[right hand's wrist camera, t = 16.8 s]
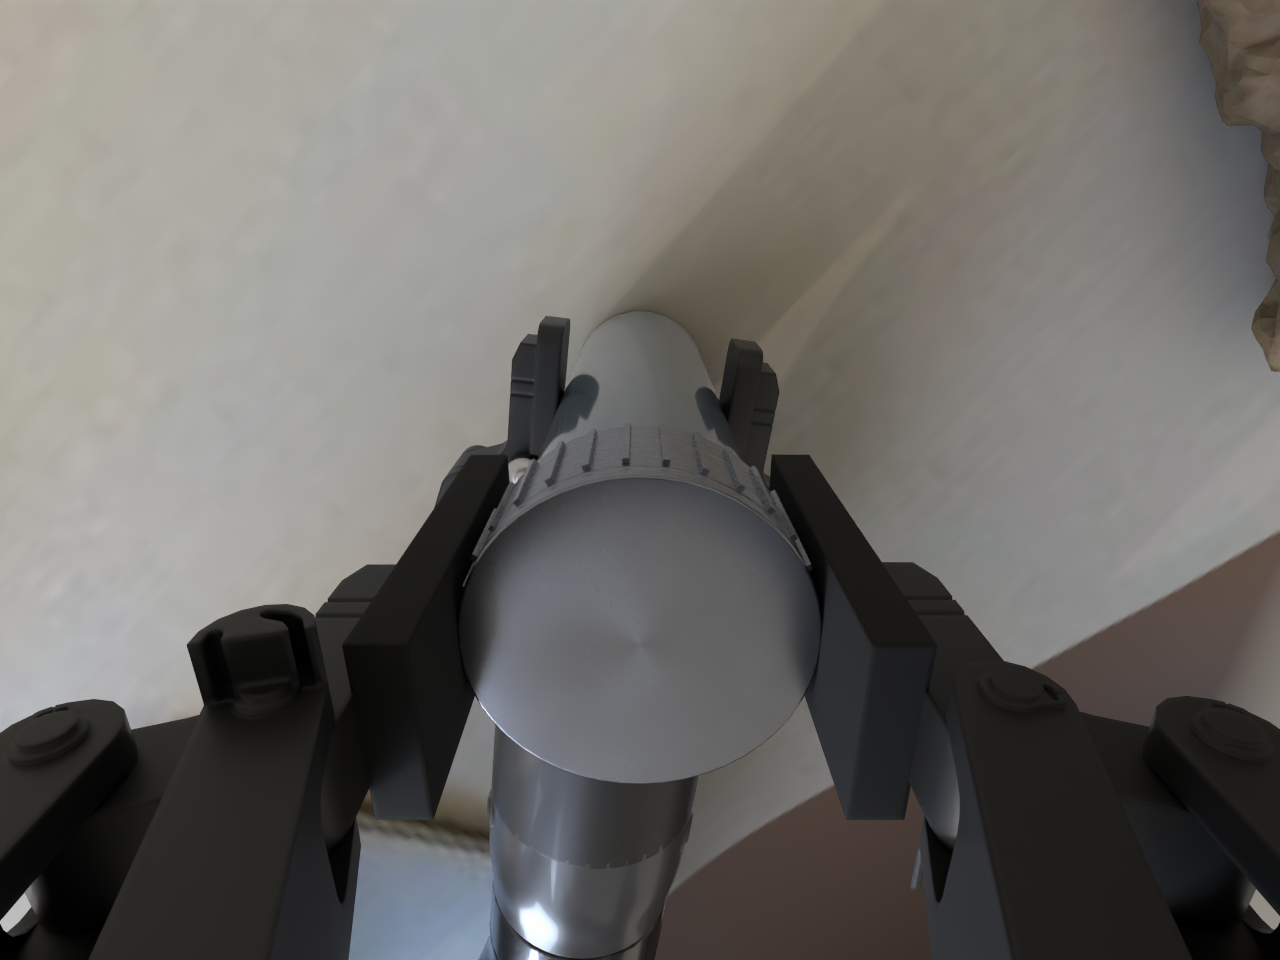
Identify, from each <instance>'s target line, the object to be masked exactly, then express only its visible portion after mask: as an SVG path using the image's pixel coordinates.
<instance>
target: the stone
mask: <svg viewBox="0 0 1280 960" xmlns="http://www.w3.org/2000/svg"><path fill="white" fill-rule="evenodd" d="M1196 1H1197V4H1198V6H1199V9H1200V17H1201V28H1202V31H1201V37H1200V43H1201V45H1202V47H1203V48H1204V50H1205V52H1206V53H1207V55H1208V57H1209V59H1210V62H1211V66H1212V69H1213V73H1214V76H1215V80H1216V83H1217V84H1216V93H1215V97H1216V102H1217V107H1218V109H1219V112H1220V115H1221V117H1222V120H1223V122H1225V123H1226V124H1227V125H1228V126H1240V125H1254V126H1256V127H1257V128H1258V129H1259V130H1261V131H1262V144H1261V152H1262V153H1263V155H1264V157H1265V159H1266V161H1267V162H1268V163H1269V166H1268V171H1267V177H1266V182H1265V187H1264V198H1265V201H1266V204H1267V207H1268V208H1269V209H1270V210H1271V211H1272V212H1273V213H1274V214H1275V219H1274V222H1273V224H1272V227H1271V229H1270V231H1269V234H1268V236H1269V240H1270V242H1269V248H1268V255H1267V261H1266V262H1267V263H1268V265H1269V266H1270V268H1271V270H1272V271H1273V273H1274V275H1275V276H1276V278H1277V279H1276V280H1275V282H1274V284H1273V286H1272V288H1271V290H1270V291H1269V293H1268V295H1267V296H1266V298H1265V299H1264V301H1263V302H1262V303H1261V305H1260V306H1259V307H1258V309H1257V310H1256V312H1255V315H1254V319H1253V323H1252V328H1251V329H1252V331H1253V334H1254V336H1255V338H1256V340H1257V341H1258V343H1259V344H1260V346H1261V347H1262V349H1263V351H1264V354H1265V358H1266V360H1267V362H1268V364H1269V367H1270V369H1271V371H1274V372H1279V371H1280V0H1196Z"/></svg>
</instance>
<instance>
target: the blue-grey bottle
mask: <svg viewBox="0 0 1280 960" xmlns="http://www.w3.org/2000/svg"><path fill="white" fill-rule="evenodd" d="M624 423H631V426H635V425H639V426H659V427H660V424H666V425H667V428H671V429H677V430H681V431H684V432H688V433H691V434H694V432H695V431H696V432H698V433H701V437H702V438H705V439H707V440H709V441H711V442H713V443H716V444H718V445H720V446H721V447H723V448H725V447H726V446H728V447H730V448H731V449H732V451H733V454H734V455H736V456H737V457H738V458H739V459H740V460H742V461H743V459H742V457H741V454H740V452H739V449H738V447H737V444H736V442H735V439H734V437H733V434H732V432H731V429H730V427H729V424H728V422H727V419H726V417H725V415H724V412H723V410H722V407H721V405H720V402H719V400H718V397H717V395H716V392H715V390H714V387H713V385H712V382H711V380H710V377H709V375H708V372H707V370H706V368H705V365H704V363H703V360H702V358H701V355H700V353H699V350H698V348H697V346H696V344H695V342H694V341H693V339H692V338H691V336H690V335H689V334H688V333H687V332H686V330H685V329H684V328H682V327H681V326H680V325H679V324H678V323H676V322H675V321H673V320H672V319H669V318H667V317H665V316H663V315H660V314H657V313H652V312H646V311H634V312H627V313H623V314H620V315H617V316H614V317H612V318H610V319H608V320H607V321H605V322H604V323H602V324H601V325H600V326H598V327H597V328H596V329H595V330H594V331H593V332H592V334H591V335H590V336H589V337H588V339H587V340H586V342H585V344H584V346H583V348H582V350H581V352H580V355H579V357H578V360H577V362H576V365H575V367H574V370H573V372H572V375H571V377H570V379H569V382H568V384H567V387H566V389H565V392H564V394H563V397H562V399H561V402H560V404H559V407H558V409H557V411H556V414H555V416H554V419H553V421H552V424H551V426H550V429H549V431H548V434H547V436H546V439H545V441H544V443H543V446H542V448H541V451H540V453H539V456H538V458H537V460H539V459H540V458H541V457H543V456H544V455H546V454H547V453H549V452H550V451H552V450H553V449H555V448H556V446H557V443H558V442H560V441H562V440H563V441H564V443H566V442H568V441H570V440H572V439H574V438H577V437H580V436H583V435H586V434H589V430H590V429H594V428H596V431H599V430H604V429H609V428H613V427H623V426H624ZM743 462H744V461H743Z"/></svg>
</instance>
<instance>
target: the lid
mask: <svg viewBox="0 0 1280 960" xmlns="http://www.w3.org/2000/svg"><path fill="white" fill-rule="evenodd" d="M470 560H472V561H474V562H473V564H472V566H471V568H470V570H469V572H468V575H467V577H466V579H465V581H464V583H463V585H462V589H463V593H462V596H461V600H460V604H459V611H458V622H457V631H458V642H459V650H460V657H461V661H462V666H463V669H464V672H465V674H466V677H467V680H468V682H469V685H470V687H471V689H472V691H473V693H474V694H475V696H476V698H477V700H478V702H479V703H480V705H481V706H482V707H483V709H484V710H485V711H486V713H487V714H488V715H489V717H490V718H491V720H492V721H493V722H494V723H495V724H496V725H497V726H498V727H499V728H500V729H501V730H502V731H503V732H504V733H505V734H506V735H507V736H508V737H510V738H511V739H512V740H513V741H515V742H516V743H517V744H518V745H520V746H521V747H522V748H524V749H525V750H527V751H528V752H530V753H532V754H533V755H535V756H536V757H538V758H540V759H542V760H544V761H546V762H548V763H550V764H552V765H554V766H556V767H558V768H561V769H563V770H566V771H569V772H572V773H575V774H577V775H581V776H585V777H589V778H593V779H597V780H603V781H610V782H617V783H634V784H648V783H663V782H670V781H676V780H682V779H687V778H691V777H694V776H698V775H702V774H705V773H708V772H711V771H713V770H716V769H718V768H721V767H723V766H726V765H728V764H730V763H732V762H734V761H736V760H738V759H739V758H741V757H743V756H745V755H747V754H748V753H750V752H751V751H753V750H754V749H755V748H757V747H758V746H760V745H761V744H763V743H764V742H765V741H766V740H767V739H768V738H770V737H771V736H772V735H773V734H774V733H775V732H777V731H778V730H779V729H780V727H781V726H782V725H783V724H784V723H785V722H786V721H787V720H788V719H789V717H790V716H791V715H792V714H793V712H794V711H795V709H796V708H797V706H798V705H799V704H800V702H801V701H802V699H803V697H804V695H805V693H806V691H807V689H808V687H809V685H810V683H811V681H812V679H813V676H814V673H815V670H816V667H817V664H818V660H819V654H820V646H821V638H822V616H821V609H820V602H819V598H818V595H817V591H816V588H815V585H814V582H813V579H812V577H811V575H810V572H809V571H811V570H813V567H812V564H811V562H810V560H809V558H808V556H807V554H806V552H805V549H804V547H803V545H802V543H801V541H800V539H799V537H798V535H797V533H796V531H795V529H794V526H793V524H792V522H791V520H790V518H789V517H788V515H787V513H786V511H785V509H784V507H783V505H782V502H781V500H780V498H779V496H778V494H777V492H776V491H775V490H773V491H771V492H770V490H769V489H768V488H767V486H766V485H765V483H764V482H763V481H762V478H761V476H760V474H759V472H758V469H757V468H756V467H755V466H752V467H751V468H750V467H749V466H748V465H747V464H745V463H744V462H743V461H742V460H740V459H739V458H738V457H737V456H736V455H734V454H733V451H732V449H731V448H730V447H728V446H726V447H725V448H723V447H721V446H720V445H718V444H716V443H713V442H711V441H709V440H707V439H705V438H702V437H701V433H698V432H696V431H695V432H694V434H691V433H688V432H684V431H681V430H677V429H671V428H667V425H666V424H660V427H659V426H639V425H635V426H631V423H624V426H623V427H613V428H609V429H604V430H599V431H596V428H594V429H590V430H589V434H586V435H583V436H580V437H577V438H574V439H572V440H570V441H568V442H566V443H564V441H563V440H562V441H560V442H558V443H557V446H556V448H555V449H553V450H552V451H550V452H549V453H547V454H546V455H544V456H543V457H541V458H540V459H539V460H537V461H536V460H535V459H533V460H531V461H530V463H529V465H528V467H527V469H526V471H525V472H524V473H523V474H522V476H521V477H520V478H519V479H518V480H517V482H516V483H515V484H514V483H513V482H510V483H509V485H508V486H507V488H506V490H505V492H504V495H503V497H502V499H501V501H500V503H499V505H498V507H497V509H496V508H494V510H493V512H492V514H491V516H490V518H489V520H488V522H487V524H486V526H485V528H484V530H483V533H482V535H481V537H480V539H479V541H478V543H477V545H476V547H475V549H474V551H473V553H472V555H471V558H470Z"/></svg>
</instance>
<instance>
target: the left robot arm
mask: <svg viewBox="0 0 1280 960" xmlns="http://www.w3.org/2000/svg"><path fill="white" fill-rule="evenodd" d="M569 334H570V319H567V318H559V317H551V316H546V317H545V318H544V319H543V320H542V322H541V323H540V325H539V330H538V335H532V334H528V335H527V336H526V337H525V338H524V339H523V341H522V342H521V343H520V345H519V347H518V349H517V351H516V353H515V355H514V357H513V359H512V373H511V391H510V392H511V395H510V409H509V427H508V440H507V441H506V442H504V443H502V444H499V445H495V446H490V447H484V446H479V445H476V446H471V447H469V448H467V449H466V450H465V451H464V452H463V454H462V455H461V456H460V458H459V459H458V461H457V462H456V463H455V465H454V466H453V467H452V469H451V470H450V472H449V473H448V475H447V476H446V477H445V479H444V480H443V482H442V484H441V488H440V491H439V494H438V498H437V501H436V504H435V507H436V505H437V504H438V502H439V501H440V499H441V498H442V496H443V495H444V493H445V492H446V491H447V489H448V488H449V486H450V485H451V483H452V482H453V480H454V479H455V477H456V476H457V474H458V473H459V471H460V470H461V468H462V467H463V465H464V464H465V462H466V461H467V459H468V458H469V457H470V455H508V466H509V479H510V482H513V483H514V484H515V483H516V482H517V480H518V479H519V478H520V477H521V476H522V474H523V473H524V472H525V471H526V469H527V467H528V465H529V463H530V461H531V460H533V459H535V460H536V461H537V458H538V456H539V453H540V451H541V448H542V446H543V443H544V441H545V439H546V436H547V434H548V431H549V429H550V426H551V424H552V421H553V419H554V416H555V414H556V411H557V409H558V407H559V404H560V402H561V399H562V397H563V394H564V392H565V381H566V369H567V357H568V345H569ZM778 396H779V388H778V383H777V377H776V373H775V372H774V371H773V370H772V369H771V367H770V366H769V365H768V364H767V363H763V352H762V349H761V348H760V347H759V346H758V345H757V344H756V342H754V341H746V340H738V339H731V341H730V344H729V348H728V353H727V358H726V364H725V370H724V376H723V381H722V387H721V393H720V398H719V402H720V405H721V407H722V410H723V412H724V415H725V417H726V419H727V422H728V424H729V427H730V429H731V432H732V434H733V437H734V439H735V442H736V444H737V447H738V449H739V452H740V454H741V457H742V459H743V461H744V463H745V464H747V465H748V466H749V467H750V468H751V467H752V466H755V467H756V468H757V469H758V472H759V474H760V476H761V478H762V481H763V482H764V483H765V485H766V486H767V488H768V489H769V487H770V477H769V476H767V475H766V474H764V473H763V469H764V464H765V459H766V454H767V449H768V444H769V439H770V435H771V430H772V424H773V420H774V415H775V410H776V406H777V401H778ZM697 780H698V776H694V777H691V778H687V779H682V780H676V781H670V782H663V783H648V784H634V783H617V782H610V781H603V780H597V779H593V778H589V777H585V776H581V775H577V774H575V773H572V772H569V771H566V770H563V769H561V768H558V767H556V766H554V765H552V764H550V763H548V762H546V761H544V760H542V759H540V758H538V757H536V756H535V755H533V754H532V753H530V752H528V751H527V750H525V749H524V748H522V747H521V746H520V745H518V744H517V743H516V742H515V741H513V740H512V739H511V738H510V737H508V736H507V735H506V734H505V733H504V732H503V731H502V730H501V729H500V728H499V727H498V726H497V725H496V724H495V741H494V759H493V776H492V789H491V790H490V794H489V797H488V821H489V823H490V828H489V837H490V854H491V861H492V867H493V888H492V903H491V919H490V935H489V938H488V940H487V942H486V945H485V947H484V949H483V951H482V953H481V955H480V957H479V959H478V960H654V958H655V954H656V949H657V945H658V940H659V935H660V930H661V925H662V920H663V915H664V910H665V905H666V900H667V896H668V892H669V890H670V888H671V886H672V883H673V881H674V878H675V876H676V873H677V870H678V867H679V864H680V861H681V857H682V853H683V849H684V845H685V843H686V842H687V841H688V837H689V832H690V827H691V823H692V818H693V813H692V805H693V800H694V795H695V790H696V785H697Z"/></svg>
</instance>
